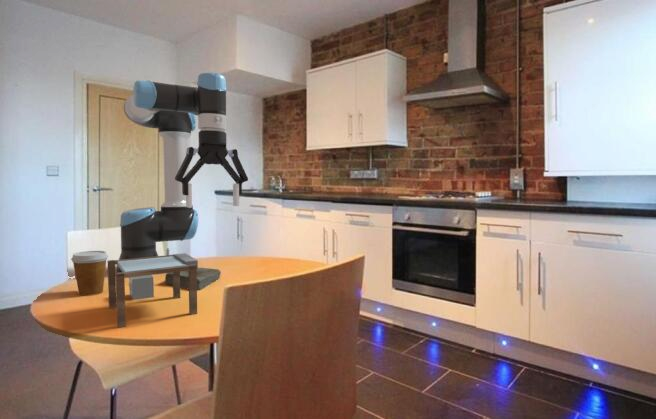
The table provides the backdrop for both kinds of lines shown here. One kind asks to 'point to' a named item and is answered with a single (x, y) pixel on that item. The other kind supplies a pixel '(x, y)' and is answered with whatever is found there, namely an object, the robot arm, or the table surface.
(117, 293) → the walnut frame
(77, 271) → the disposable coffee cup
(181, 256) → the trapdoor
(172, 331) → the table surface
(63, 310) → the table surface
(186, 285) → the marble piece
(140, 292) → the granite block
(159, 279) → the table surface
